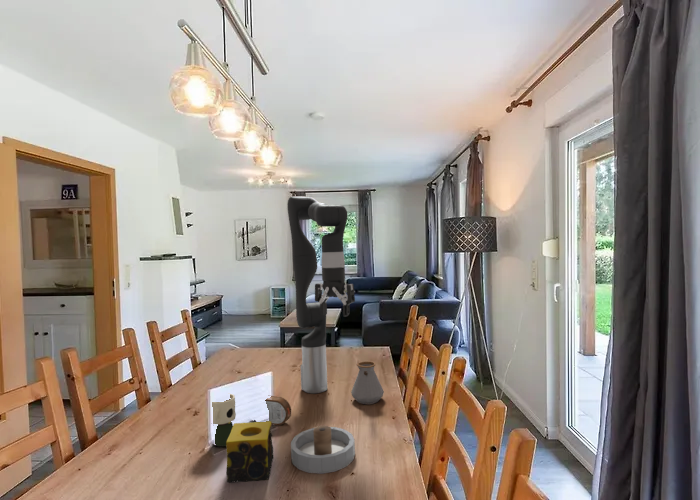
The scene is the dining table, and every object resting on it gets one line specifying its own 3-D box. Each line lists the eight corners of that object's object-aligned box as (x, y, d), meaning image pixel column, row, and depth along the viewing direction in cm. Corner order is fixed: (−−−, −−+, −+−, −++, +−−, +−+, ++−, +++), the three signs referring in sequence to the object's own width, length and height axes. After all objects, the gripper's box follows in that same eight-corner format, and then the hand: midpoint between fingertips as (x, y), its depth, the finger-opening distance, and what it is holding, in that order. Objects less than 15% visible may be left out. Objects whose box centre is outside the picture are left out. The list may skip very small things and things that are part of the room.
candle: (234, 460, 104) (233, 422, 104) (273, 457, 105) (272, 419, 105) (225, 484, 94) (223, 441, 94) (269, 480, 95) (267, 438, 94)
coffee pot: (352, 394, 147) (351, 353, 147) (383, 393, 146) (382, 353, 146) (348, 419, 126) (346, 372, 126) (385, 419, 125) (383, 371, 125)
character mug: (229, 453, 108) (227, 405, 108) (203, 453, 108) (201, 405, 108) (242, 434, 119) (240, 390, 118) (218, 434, 119) (217, 391, 119)
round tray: (278, 462, 102) (277, 447, 102) (316, 435, 116) (316, 422, 116) (331, 480, 94) (330, 464, 93) (365, 448, 107) (365, 434, 107)
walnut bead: (310, 454, 104) (309, 431, 104) (321, 446, 108) (320, 423, 108) (325, 458, 102) (324, 434, 102) (335, 450, 106) (334, 427, 106)
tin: (292, 423, 125) (291, 396, 125) (287, 427, 122) (286, 400, 122) (250, 418, 130) (249, 392, 129) (245, 422, 127) (244, 396, 126)
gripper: (308, 266, 131) (310, 316, 131) (345, 266, 123) (347, 319, 124) (322, 265, 137) (324, 312, 138) (357, 265, 130) (359, 314, 130)
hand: (335, 315), depth 131 cm, fingers open, 8 cm apart
